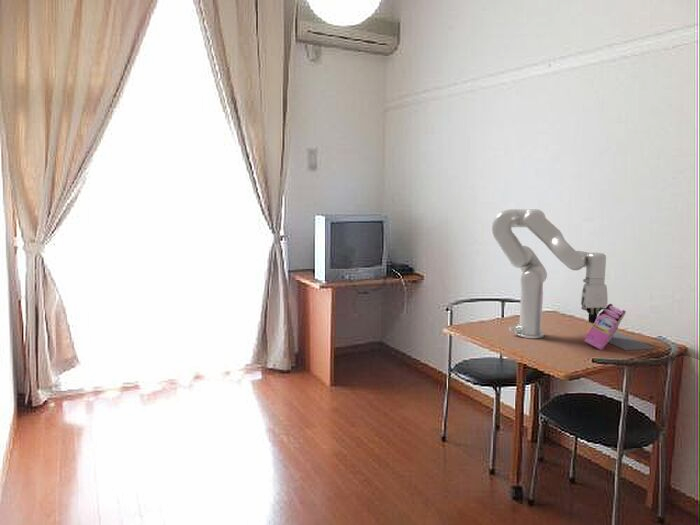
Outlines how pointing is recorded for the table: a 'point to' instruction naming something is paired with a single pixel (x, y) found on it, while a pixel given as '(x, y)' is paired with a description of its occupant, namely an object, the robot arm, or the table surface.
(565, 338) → the table surface
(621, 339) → the mat
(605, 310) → the gum box
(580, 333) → the table surface
